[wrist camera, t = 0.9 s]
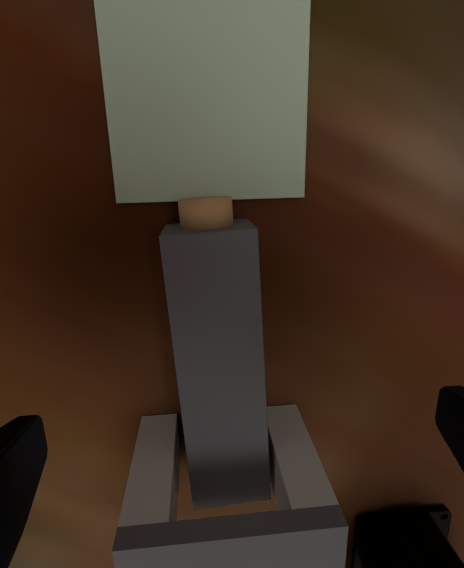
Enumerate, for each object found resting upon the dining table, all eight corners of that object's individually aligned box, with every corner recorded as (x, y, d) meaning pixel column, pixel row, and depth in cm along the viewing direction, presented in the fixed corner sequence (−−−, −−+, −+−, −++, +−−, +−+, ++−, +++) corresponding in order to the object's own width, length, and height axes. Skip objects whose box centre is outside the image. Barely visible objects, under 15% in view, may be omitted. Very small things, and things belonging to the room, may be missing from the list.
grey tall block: (258, 444, 23) (271, 498, 19) (193, 453, 23) (193, 509, 19) (243, 192, 19) (256, 198, 15) (163, 199, 18) (154, 206, 15)
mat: (302, 196, 19) (304, 197, 18) (117, 202, 18) (116, 203, 18) (309, -47, 16) (312, -52, 15) (89, -52, 15) (87, -58, 15)
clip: (294, 446, 23) (343, 582, 15) (146, 459, 22) (121, 608, 15) (295, 404, 22) (348, 526, 15) (141, 416, 21) (112, 551, 14)
